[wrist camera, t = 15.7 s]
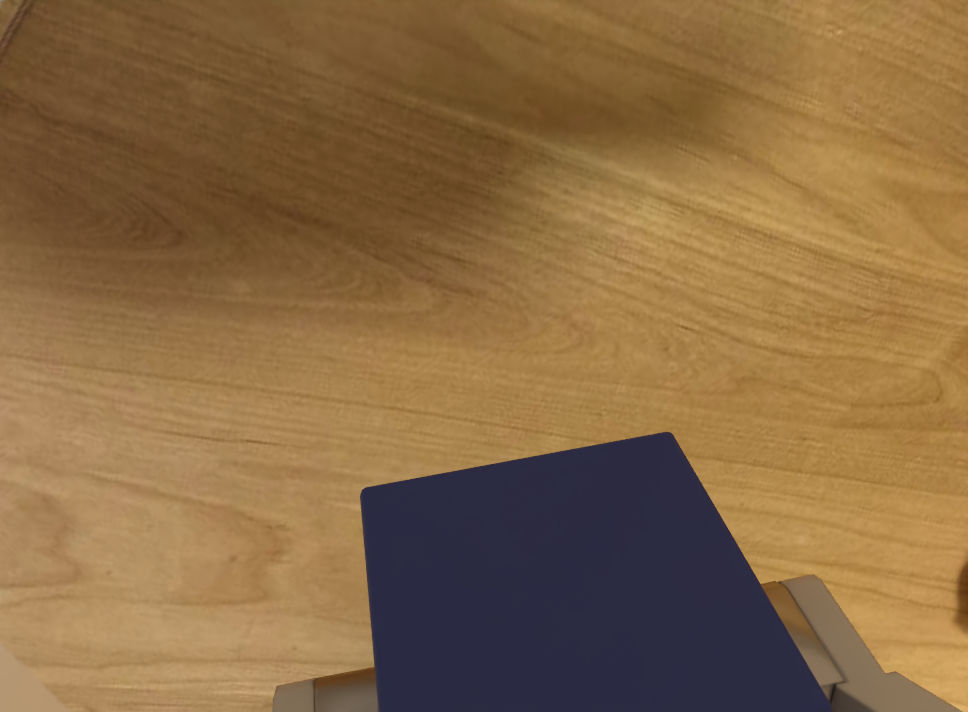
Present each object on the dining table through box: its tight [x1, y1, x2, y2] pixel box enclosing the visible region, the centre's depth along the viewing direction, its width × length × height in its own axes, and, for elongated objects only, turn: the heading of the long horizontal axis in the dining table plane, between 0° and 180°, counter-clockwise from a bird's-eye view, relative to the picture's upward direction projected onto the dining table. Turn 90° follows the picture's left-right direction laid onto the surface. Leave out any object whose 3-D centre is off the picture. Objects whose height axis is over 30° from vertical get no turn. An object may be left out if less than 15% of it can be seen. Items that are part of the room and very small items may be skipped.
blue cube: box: [360, 432, 832, 712], centre depth 11 cm, size 4×4×4 cm
